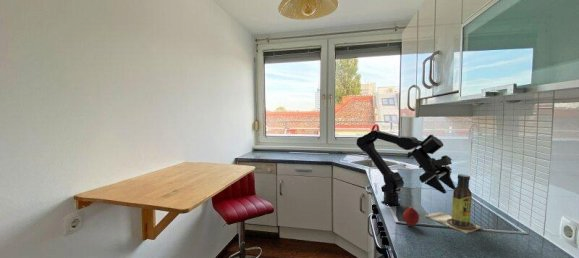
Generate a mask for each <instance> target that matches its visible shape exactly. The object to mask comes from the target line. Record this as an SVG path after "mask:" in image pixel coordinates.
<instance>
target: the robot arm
mask: <svg viewBox="0 0 579 258" xmlns="http://www.w3.org/2000/svg"><path fill="white" fill-rule="evenodd" d="M377 139H378V140H381V141H385V142H388V143H391V144H394V145H396V146H398V147H399V148H401V149H403V150H406V151H408V152H407V158H408V159H411V158H413V159H414V160H415V162H417V164H418V168H419V169H422V170H423V173H422V174H421V175H419V181H420V182H421V183H422V184H425V185H427V186H428V187H431V188H433V189H435V190H436V191H438V192H440V193H442V194H446V193H447V190H446V189H445V187H444V186H443V184H445V186H447V187H448V188H450V189H451V190H453V191H454V189H455V188H456V185H455V183H454V181H453V179H452V177H451V173H452V170H453V169H452V168H451V167H450V166H449V165H452V160H453V159H452V158H451V157H450V156H449V155H443V156H441V158H439V159H436V158H435V157H431V156H430V155H429V154H431V155H433V154H435V153H437V151H439V150H440V149H441V148H442V147H444V143H443V141H442V140H441V139H439V138H438V137H436V136H434V134H429V135H427V137H426V138H424V139H423V140H419V139H418V138H417V137H415V136H405V135H404V136H403V135H402V136H401V135H396V134H393V133H389V132H386V131H381V130H380V129H373V130H371V131H370V132H368V133H365V134H364V135H362V136H360V137H358V138H357V139H356V146H357V147H358V148H359V149H360V151H363V152H364V153H365V154H367V155H368V157H369V158H370V159H371V161H372V163H373V164H374V165H375V167H376V168H377V170H378V172H380V173H381V175H382V177H383V183H384V185H382V186H381V187H380V189H381V192H382V193H383V200H381V201H380V202H381V203H382V202H383V203H382V204H384V203H385V204H384V205H386V204H388V205H390V206H389V207H395V206H394V205H396V206H399V205H401V203H399V198H400V197H399V192H401V189H403V188H404V184H405V182H404V180H403V179H404V178H403V177H402V176H401V174H400V172H399V171H393V170H392V169H391V168H390V167H389V166H388V164H387V162H386V161H385V160H384V159H383V157H382V156H381V155H380V153H379V152H378V151H377V149H376V146H375V142H376V141H377ZM410 150H412V151H410ZM388 205H387V206H388Z"/></svg>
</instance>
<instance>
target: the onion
mask: <svg viewBox="0 0 579 258" xmlns="http://www.w3.org/2000/svg"><path fill="white" fill-rule="evenodd" d="M402 218H403V219H402V220H403V221H404V222H405V223H406V224H407V225H408V226H409V227H413V226H415V225H416V224H418V223H419V221H420V215H419V213H418V211H417V210H416V209H414V207H412V206H408V208H407V209H405V210H404V211H403V213H402Z"/></svg>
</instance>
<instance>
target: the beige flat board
mask: <svg viewBox="0 0 579 258" xmlns="http://www.w3.org/2000/svg"><path fill="white" fill-rule="evenodd" d="M424 217H425V218H427V219H428V220H432V221H434V222H437V223H439V224H441V225H444V226H446V227H448V226H449V228H451V229H453V230H456V231H458V232H460V233H463V234H470V233H472V232H477V231H479V230H478V229H480V230H482V229H483V227H482V226H479V225H477V224H475V223H473V222H471V221H470V222H469V226H459V225H456V224H454V223H452V221H451V220H452V218H451V215H450V214H447V213H445V212H442V211H438V212H435V213H429V214H425V215H424ZM476 230H477V231H476ZM469 232H470V233H469Z"/></svg>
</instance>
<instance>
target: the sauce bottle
mask: <svg viewBox="0 0 579 258" xmlns="http://www.w3.org/2000/svg"><path fill="white" fill-rule="evenodd" d="M470 180H471V177H470V175H467V174H463V173H460V174H459V173H458V174H457V186H455V189H454V190H453V196H452V203H451V215H450V216H451V218H452V220H451V221H452V223H454V224H456V225H459V226H469V222H471V221H470V220H471V211H472V200H473V198H472V196H473V195H472V192H471V190H470Z"/></svg>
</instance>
